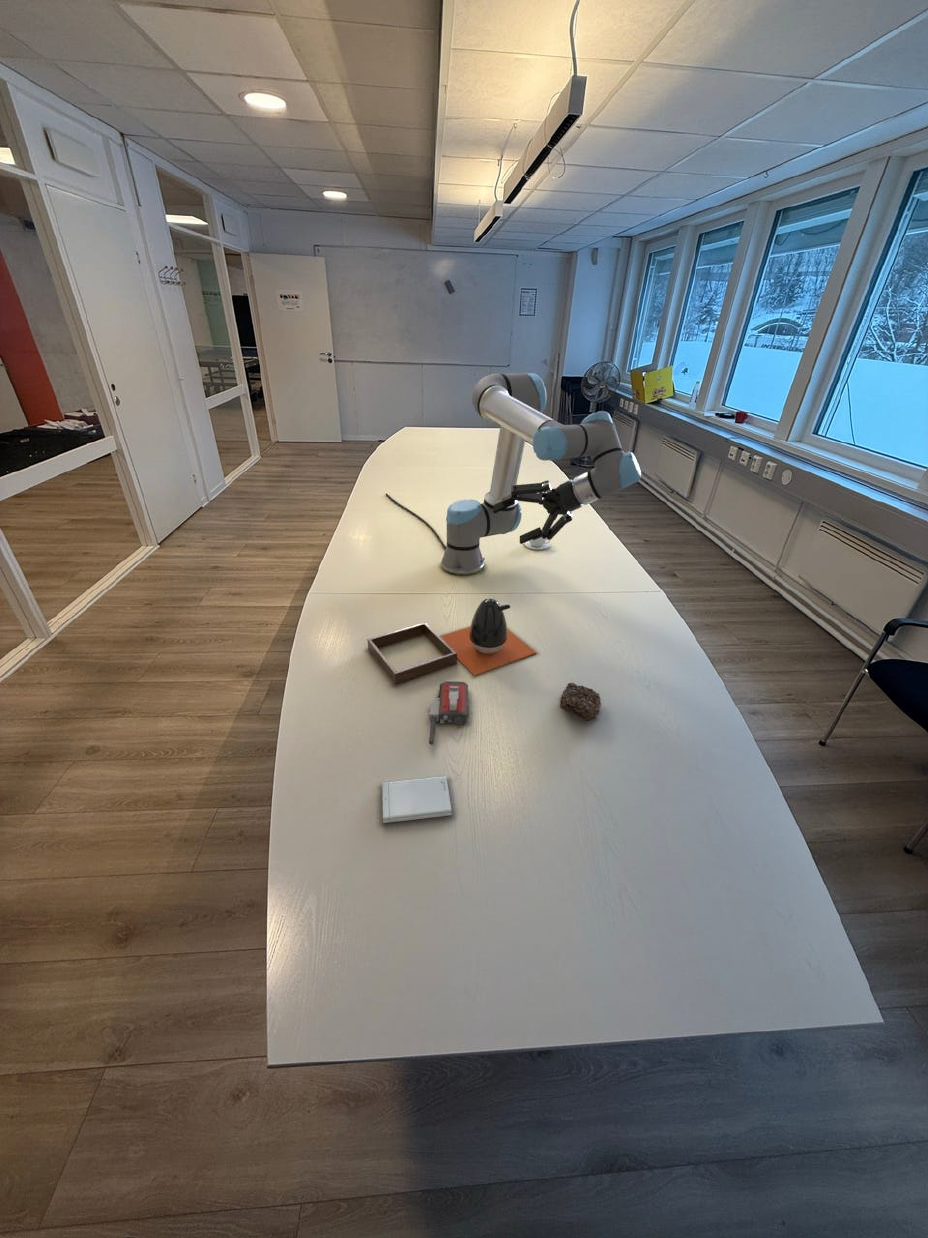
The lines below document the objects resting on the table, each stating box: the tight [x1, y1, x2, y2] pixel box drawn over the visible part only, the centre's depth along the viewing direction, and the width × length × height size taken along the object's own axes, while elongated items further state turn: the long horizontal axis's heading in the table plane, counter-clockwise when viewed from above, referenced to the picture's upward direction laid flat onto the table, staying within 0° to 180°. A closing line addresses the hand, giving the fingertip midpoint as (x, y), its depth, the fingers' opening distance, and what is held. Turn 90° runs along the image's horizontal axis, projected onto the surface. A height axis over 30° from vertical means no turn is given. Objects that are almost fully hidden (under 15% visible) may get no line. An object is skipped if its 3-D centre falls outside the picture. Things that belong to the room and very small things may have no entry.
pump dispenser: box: [469, 597, 511, 654], centre depth 133 cm, size 10×10×15 cm
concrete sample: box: [559, 682, 602, 722], centre depth 116 cm, size 12×10×5 cm
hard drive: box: [381, 775, 453, 824], centre depth 94 cm, size 2×8×12 cm
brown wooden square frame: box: [366, 621, 458, 686], centre depth 132 cm, size 18×18×4 cm
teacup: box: [523, 537, 551, 550], centre depth 198 cm, size 10×10×5 cm
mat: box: [439, 626, 537, 677], centre depth 138 cm, size 20×20×1 cm
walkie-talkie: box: [428, 680, 469, 746], centre depth 113 cm, size 9×4×20 cm
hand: (507, 525), depth 139 cm, fingers open, 13 cm apart
